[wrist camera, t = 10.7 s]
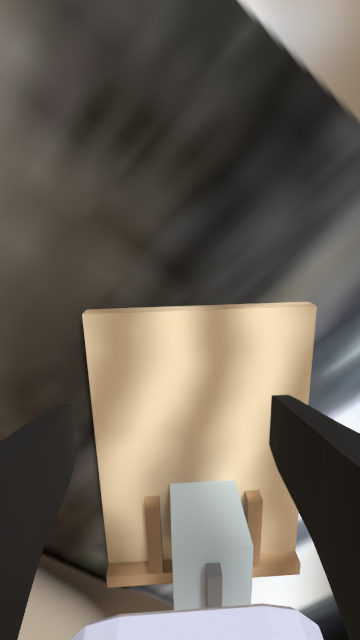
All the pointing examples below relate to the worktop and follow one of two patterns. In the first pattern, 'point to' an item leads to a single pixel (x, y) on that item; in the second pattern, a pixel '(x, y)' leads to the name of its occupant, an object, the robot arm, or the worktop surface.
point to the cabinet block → (210, 546)
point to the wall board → (193, 422)
